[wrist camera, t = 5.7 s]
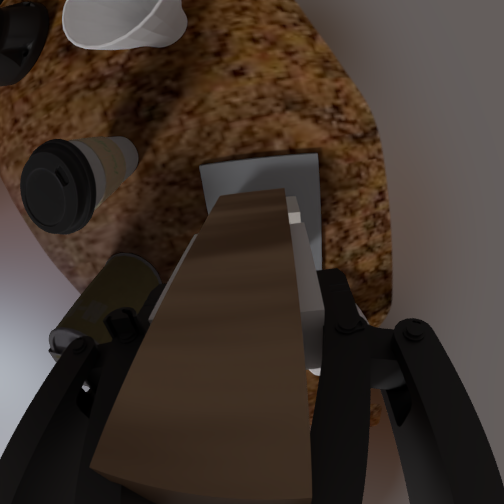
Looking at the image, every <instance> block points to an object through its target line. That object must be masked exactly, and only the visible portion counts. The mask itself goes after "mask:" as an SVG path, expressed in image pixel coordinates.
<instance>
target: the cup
mask: <svg viewBox="0 0 504 504" xmlns="http://www.w3.org/2000/svg"><path fill="white" fill-rule="evenodd" d="M62 23H63V30H64V32H65V34H66V36H67V38H68V39H69V40H70V41H71V42H72V43H73V44H74V45H76V46H79V47H82V48H85V49H97V50H119V49H131V48H136V47H141V46H151V47H158V48H160V47H166V46H169V45H171V44H173V43H174V42H176V41H177V40H178V39H179V38H181V37H182V35H183V34H184V32H185V30H186V27H187V17H186V15H185V13H184V11H183V10H182V6H181V0H66V3H65V5H64V9H63V15H62Z"/></svg>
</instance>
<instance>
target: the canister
mask: <svg viewBox="0 0 504 504" xmlns="http://www.w3.org/2000/svg"><path fill="white" fill-rule="evenodd" d="M159 284H162V282H161V279H160V277H159V274H158V273H157V271H156V270H155V268H154V267H153V266H152V265H151V264H150V263H149V262H147V261H146V260H145V259H143V258H142V257H140V256H138V255H135V254H131V253H119V254H115V255H114V256H112V257H111V258H110V259H109V260H108V261H107V263H106V265H105V266H104V268H103V269H102V270H101V271H100V272H99V273H98V275H97V276H96V277H95V278H94V280H93V281H92V282H91V283H90V284H89V286H88V287H87V288H86V289H85V291H84V292H83V293H82V294H81V296H80V297H79V298H78V299H77V301H76V302H75V303H74V305H73V306H72V307H71V308H70V310H69V311H68V312H67V314H66V315H65V316H64V318H63V319H62V321H61V322H60V323H59V325H58V326H57V327H56V329H54V330H52V331H51V333H50V335H49V344H50V349H49V353H50V354H51V356H52V357H53V358H54V360H55V361H56V362H57V361H58V360H59V358H60V357H61V355H62V354H63V352H64V351H65V350H66V348H67V347H68V345H69V344H70V343H71V342H72V341H73V340H75V339H76V338H78V337H82V336H89V337H92V339H93V340H94V341H95V343H96V345H98V344H103V343H107V342H111V341H112V337H111V335H110V334H109V332H108V330H107V328H106V326H105V324H104V323H103V320H104V318H105V317H106V316H107V315H108V314H109V313H110V312H112V311H114V310H116V309H118V308H122V307H131V308H133V309H134V310H135V311H136V312H137V315H138V313H139V311H140V309H141V308H142V306H143V304H144V302H145V301H146V300H147V297H148V296H149V294H150V292H151V291H152V290H153V289H154V288H155V287H156V286H158V285H159ZM83 385H85V386H88V385H87V384H86V382H84V384H83ZM88 387H89V386H88Z"/></svg>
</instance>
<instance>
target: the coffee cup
mask: <svg viewBox="0 0 504 504" xmlns="http://www.w3.org/2000/svg"><path fill="white" fill-rule="evenodd" d="M137 165H138V153H137V150H136V148H135V146H134V145H133V143H132V142H131V141H130V140H128V139H127V138H125V137H121V136H117V137H92V138H82V139H74V140H69V141H66V140H62V139H53V140H49V141H47V142H45V143H44V144H42V145H41V146H39V147H38V148H37V149H36V150H35V151H34V152H33V153H32V155H31V156H30V158H29V160H28V161H27V163H26V164H25V166H24V168H23V171H22V175H21V182H20V189H21V197H22V201H23V204H24V207H25V209H26V211H27V213H28V215H29V217H30V218H31V219H32V221H33V222H34V223H35V224H36V225H37V226H38V227H39V228H41V229H42V230H44V231H46V232H48V233H53V234H71V233H73V232H75V231H78V230H80V229H82V228H83V227H84V226H85V225H86V224H87V223H88V222H89V220H90V219H91V217H92V215H93V212H94V210H95V209H96V208H97V207H98V206H99V205H100V204H101V203H102V202H104V201H105V200H106V199H107V198H108V197H109V196H110V195H111V194H112V193H113V192H114V191H115V190H116V189H117V188H118V187H119V186H120V185H121V183H122V182H123V181H124V180H126V179H127V178H128V177H129V176H130V175H131V174H132V173H133V172H134V170H135V169H136V167H137Z"/></svg>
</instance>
